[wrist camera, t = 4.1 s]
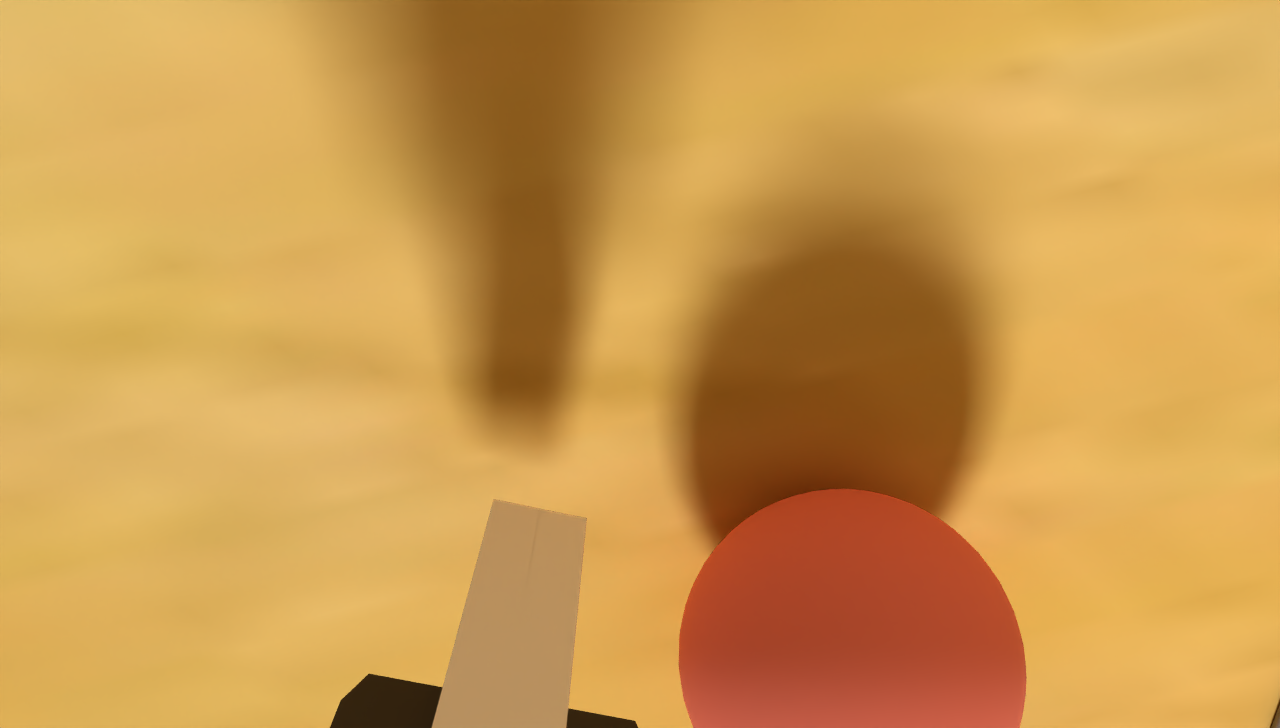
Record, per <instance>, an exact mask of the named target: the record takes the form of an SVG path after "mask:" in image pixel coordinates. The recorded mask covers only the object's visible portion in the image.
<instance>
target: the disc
mask: <svg viewBox="0 0 1280 728" xmlns="http://www.w3.org/2000/svg"><path fill="white" fill-rule="evenodd" d="M1271 728H1280V705H1279V708H1278V711H1277V713H1276V716H1275V719H1274V721H1273V724H1272V727H1271Z"/></svg>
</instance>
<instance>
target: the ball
mask: <svg viewBox="0 0 1280 728" xmlns="http://www.w3.org/2000/svg"><path fill="white" fill-rule="evenodd" d="M679 671H680V678H681V685H682V691H683V697H684V701H685V704H686V707H687V711H688V714H689V717H690V719H691V722H692V725H693V728H1019V727H1020V723H1021V719H1022V714H1023V709H1024V702H1025V695H1026V665H1025V655H1024V647H1023V642H1022V638H1021V634H1020V630H1019V627H1018V623H1017V620H1016V617H1015V614H1014V611H1013V609H1012V606H1011V604H1010V602H1009V600H1008V598H1007V596H1006V594H1005V592H1004V590H1003V588H1002V586H1001V584H1000V582H999V580H998V579H997V577H996V576H995V575H994V573H993V572H992V570H991V569H990V568H989V566H988V565H987V564H986V562H985V561H984V560H983V558H982V557H981V556H980V554H979V553H978V552H977V551H976V550H975V549H974V548H973V547H972V546H971V545H970V544H969V543H968V542H967V541H966V540H965V539H964V538H963V537H962V536H961V535H960V534H958V533H957V532H956V531H955V530H954V529H953V528H951V527H950V526H949V525H947V524H946V523H944V522H943V521H942V520H940V519H939V518H937V517H935V516H934V515H932V514H930V513H929V512H927V511H925V510H923V509H921V508H919V507H917V506H915V505H914V504H911V503H909V502H906V501H903V500H900V499H898V498H895V497H891V496H888V495H884V494H880V493H876V492H871V491H866V490H856V489H827V490H818V491H812V492H807V493H803V494H799V495H794V496H792V497H789V498H786V499H783V500H780V501H777V502H775V503H773V504H771V505H769V506H767V507H765V508H763V509H761V510H759V511H758V512H756V513H755V514H753V515H751V516H750V517H748V518H747V519H745V520H744V521H743V522H742V523H740V524H739V525H738V526H737V527H735V528H734V529H733V530H732V531H731V532H730V533H729V534H728V535H727V536H726V537H725V538H724V539H723V540H722V541H721V542H720V544H719V545H718V546H717V547H716V548H715V549H714V551H713V552H712V554H711V555H710V556H709V558H708V559H707V560H706V562H705V563H704V565H703V567H702V569H701V571H700V572H699V574H698V576H697V578H696V580H695V582H694V584H693V587H692V589H691V591H690V594H689V597H688V600H687V603H686V606H685V610H684V615H683V619H682V625H681V630H680V637H679Z"/></svg>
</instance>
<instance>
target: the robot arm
mask: <svg viewBox="0 0 1280 728" xmlns="http://www.w3.org/2000/svg"><path fill="white" fill-rule="evenodd" d="M586 521H587V518H583V517H578V516H573V515H568V514H563V513H558V512H554V511H549V510H544V509H539V508H534V507H529V506H525V505H520V504H515V503H510V502H505V501H500V500H496V499H494V500H493V504H492V507H491V511H490V515H489V518H488V522H487V526H486V529H485V533H484V537H483V540H482V544H481V548H480V552H479V555H478V559H477V563H476V566H475V570H474V574H473V577H472V581H471V585H470V588H469V592H468V596H467V599H466V603H465V607H464V610H463V614H462V618H461V622H460V625H459V629H458V633H457V636H456V640H455V644H454V647H453V651H452V655H451V658H450V662H449V666H448V669H447V673H446V677H445V681H444V684H443V687H437V686H432V685H427V684H421V683H416V682H410V681H405V680H400V679H394V678H389V677H384V676H378V675H373V674H368V675H367V676H366V677H365V678H364V679H363V680H362V681H361V682H360V683H359V684H358V685H357V686H356V687H354V688H353V689H352V690H351V691H350V692H349V693H348V694H347V695H346V696H345V697H344V698H343V699H342V700H341V701H340V704H339V706H338V709H337V711H336V714H335V716H334V719H333V721H332V724H331V726H330V728H638V726H637V724H636V722H635V721H632V720H627V719H622V718H616V717H611V716H606V715H600V714H595V713H590V712H584V711H579V710H574V709H568V705H569V694H570V684H571V674H572V664H573V654H574V643H575V633H576V623H577V613H578V603H579V592H580V582H581V572H582V562H583V552H584V541H585V531H586Z"/></svg>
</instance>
